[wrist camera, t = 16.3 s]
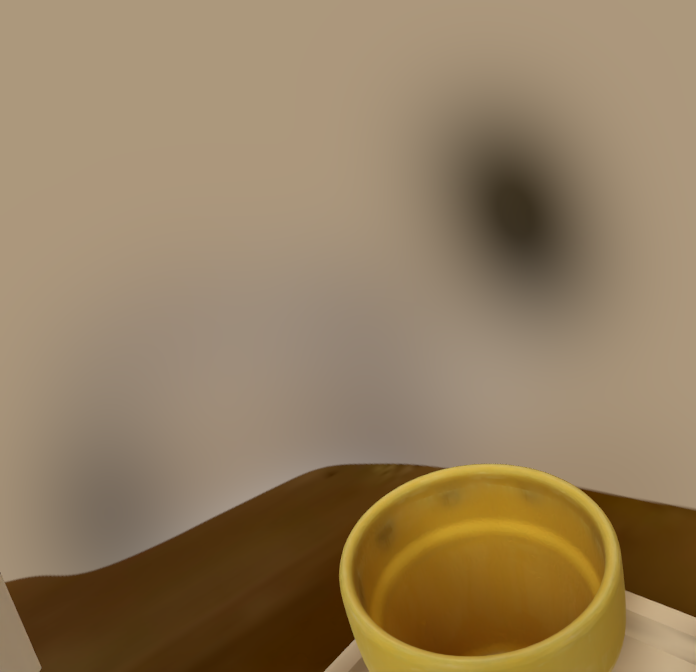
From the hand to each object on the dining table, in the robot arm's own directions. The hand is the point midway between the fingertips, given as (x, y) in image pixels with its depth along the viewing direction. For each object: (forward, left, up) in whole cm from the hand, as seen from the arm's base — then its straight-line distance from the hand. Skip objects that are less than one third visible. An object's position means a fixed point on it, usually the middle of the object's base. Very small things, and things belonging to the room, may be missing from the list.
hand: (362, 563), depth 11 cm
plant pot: (-6, +9, -19) cm, 22 cm away
